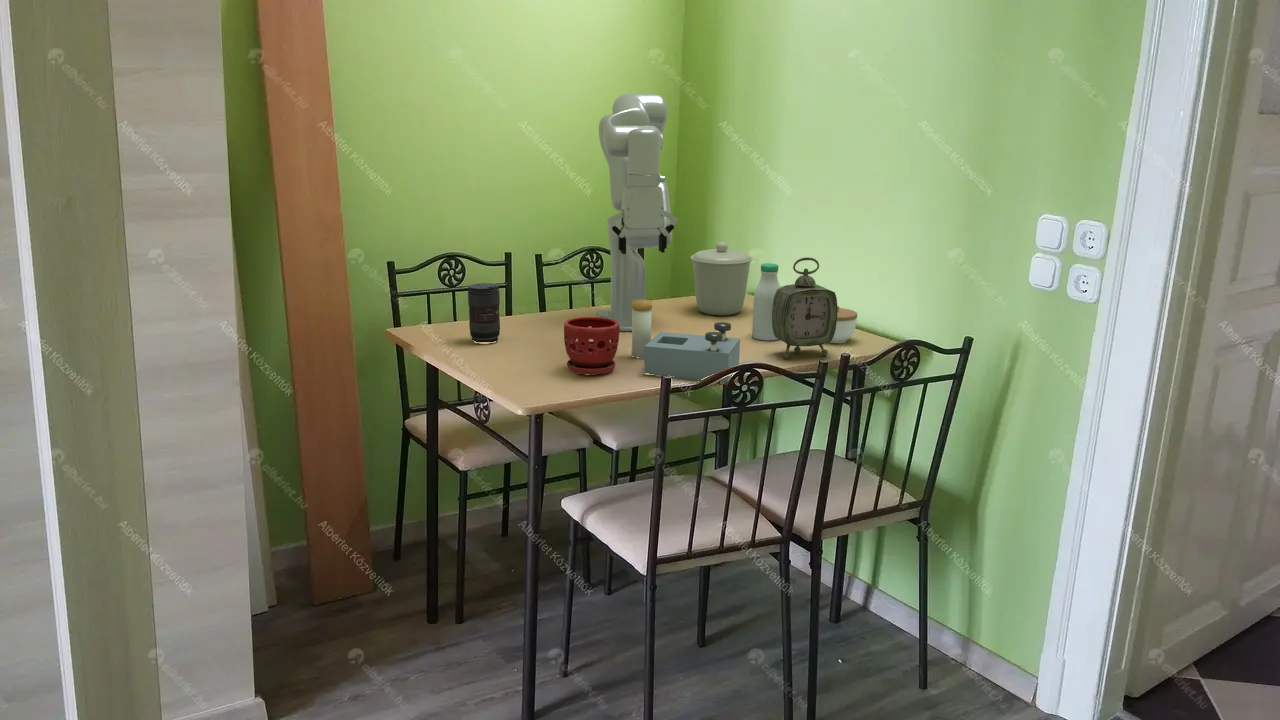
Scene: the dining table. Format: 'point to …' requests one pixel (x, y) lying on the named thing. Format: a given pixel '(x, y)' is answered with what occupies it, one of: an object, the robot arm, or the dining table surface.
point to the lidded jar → (844, 325)
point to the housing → (689, 356)
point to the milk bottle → (765, 303)
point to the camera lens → (484, 312)
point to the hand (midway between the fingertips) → (642, 252)
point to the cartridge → (641, 326)
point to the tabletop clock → (804, 313)
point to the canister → (720, 279)
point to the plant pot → (591, 344)
